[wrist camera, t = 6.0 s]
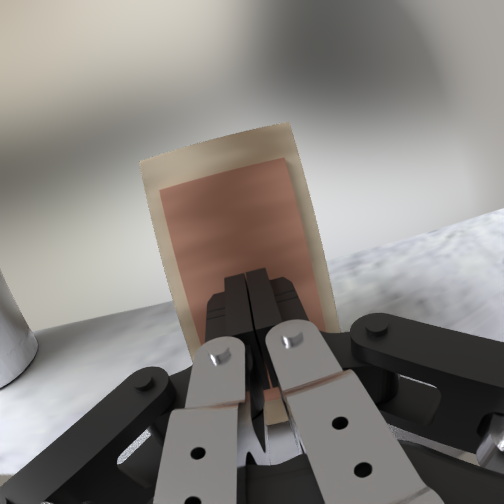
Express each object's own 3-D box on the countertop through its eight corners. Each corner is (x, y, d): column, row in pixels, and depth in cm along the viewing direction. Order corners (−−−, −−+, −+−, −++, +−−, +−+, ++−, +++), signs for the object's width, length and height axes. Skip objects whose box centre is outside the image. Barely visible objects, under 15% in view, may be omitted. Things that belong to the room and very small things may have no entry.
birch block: (219, 436, 12) (137, 160, 11) (224, 393, 16) (164, 177, 15) (353, 404, 12) (289, 119, 11) (330, 367, 16) (278, 147, 15)
